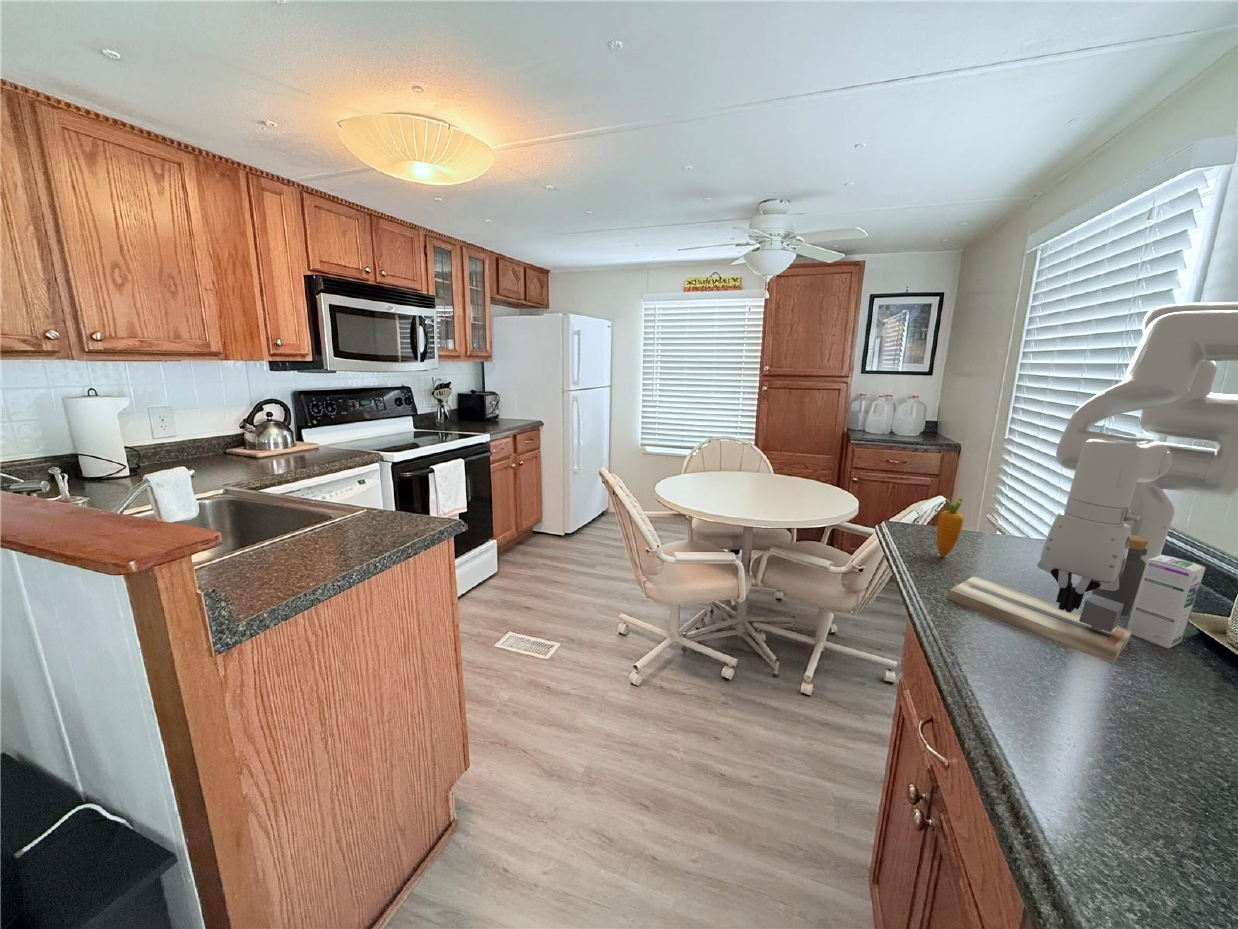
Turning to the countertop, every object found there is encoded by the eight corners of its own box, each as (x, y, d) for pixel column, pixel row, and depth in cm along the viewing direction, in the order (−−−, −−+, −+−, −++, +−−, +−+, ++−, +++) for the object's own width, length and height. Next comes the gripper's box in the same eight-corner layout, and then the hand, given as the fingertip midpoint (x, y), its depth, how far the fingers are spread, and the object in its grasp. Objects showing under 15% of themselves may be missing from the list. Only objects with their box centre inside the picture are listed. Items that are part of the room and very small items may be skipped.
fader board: (971, 584, 104) (974, 575, 104) (1129, 641, 86) (1132, 630, 85) (947, 598, 98) (949, 589, 97) (1112, 663, 79) (1116, 652, 78)
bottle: (1138, 617, 94) (1162, 544, 91) (1103, 612, 95) (1125, 540, 92) (1115, 602, 100) (1137, 533, 96) (1082, 598, 101) (1102, 529, 97)
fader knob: (1084, 619, 87) (1092, 594, 86) (1115, 630, 84) (1124, 604, 83) (1077, 627, 84) (1085, 601, 83) (1108, 639, 81) (1117, 612, 80)
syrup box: (1169, 650, 84) (1197, 571, 80) (1123, 631, 89) (1147, 557, 85) (1181, 642, 86) (1209, 566, 83) (1135, 625, 91) (1159, 552, 88)
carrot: (933, 558, 117) (946, 498, 114) (929, 551, 122) (941, 493, 118) (957, 563, 115) (971, 502, 112) (952, 555, 120) (965, 496, 116)
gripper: (1163, 521, 79) (1129, 623, 84) (1046, 496, 91) (1022, 586, 95) (1153, 529, 75) (1119, 636, 79) (1032, 502, 87) (1008, 596, 91)
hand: (1066, 608), depth 87 cm, fingers closed
